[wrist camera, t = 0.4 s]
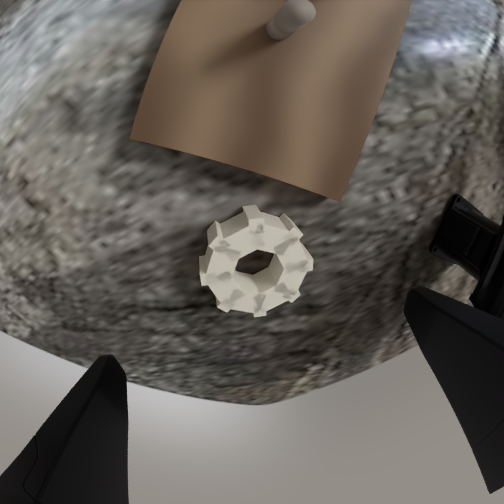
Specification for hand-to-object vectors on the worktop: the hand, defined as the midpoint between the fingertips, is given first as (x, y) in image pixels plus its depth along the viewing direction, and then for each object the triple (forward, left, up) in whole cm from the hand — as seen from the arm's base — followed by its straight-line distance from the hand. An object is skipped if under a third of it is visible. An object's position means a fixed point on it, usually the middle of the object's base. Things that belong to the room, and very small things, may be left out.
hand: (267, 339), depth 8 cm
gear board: (0, -13, -13) cm, 19 cm away
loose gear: (-3, +4, -13) cm, 14 cm away
